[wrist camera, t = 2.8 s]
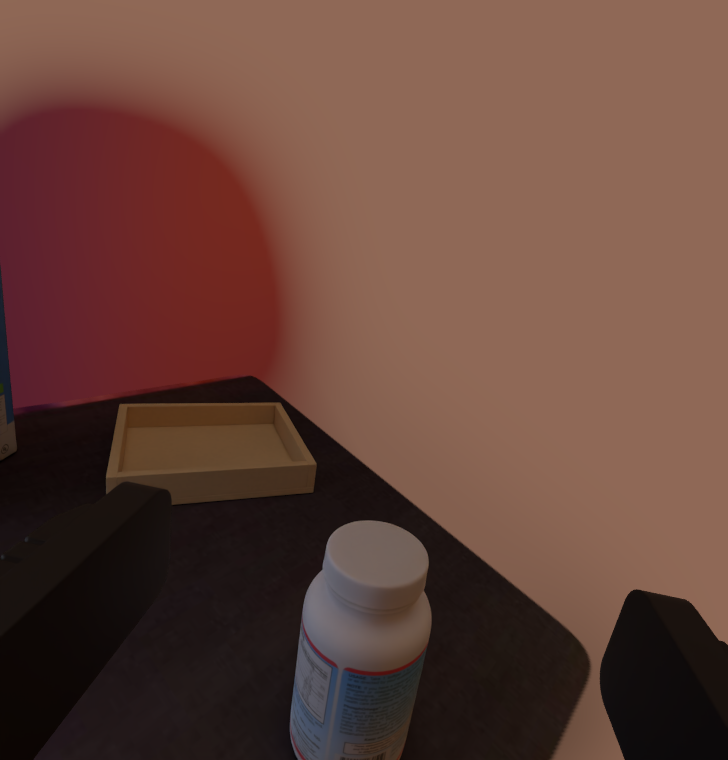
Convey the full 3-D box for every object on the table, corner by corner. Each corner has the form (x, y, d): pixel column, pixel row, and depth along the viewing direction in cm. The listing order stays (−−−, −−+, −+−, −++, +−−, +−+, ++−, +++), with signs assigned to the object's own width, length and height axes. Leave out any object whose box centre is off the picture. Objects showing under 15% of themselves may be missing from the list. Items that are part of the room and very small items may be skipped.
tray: (277, 425, 59) (280, 402, 58) (313, 492, 46) (317, 464, 45) (119, 429, 52) (119, 403, 51) (106, 510, 39) (105, 477, 38)
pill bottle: (413, 701, 27) (453, 532, 23) (388, 821, 21) (435, 621, 18) (314, 662, 28) (338, 498, 25) (265, 765, 23) (288, 570, 19)
